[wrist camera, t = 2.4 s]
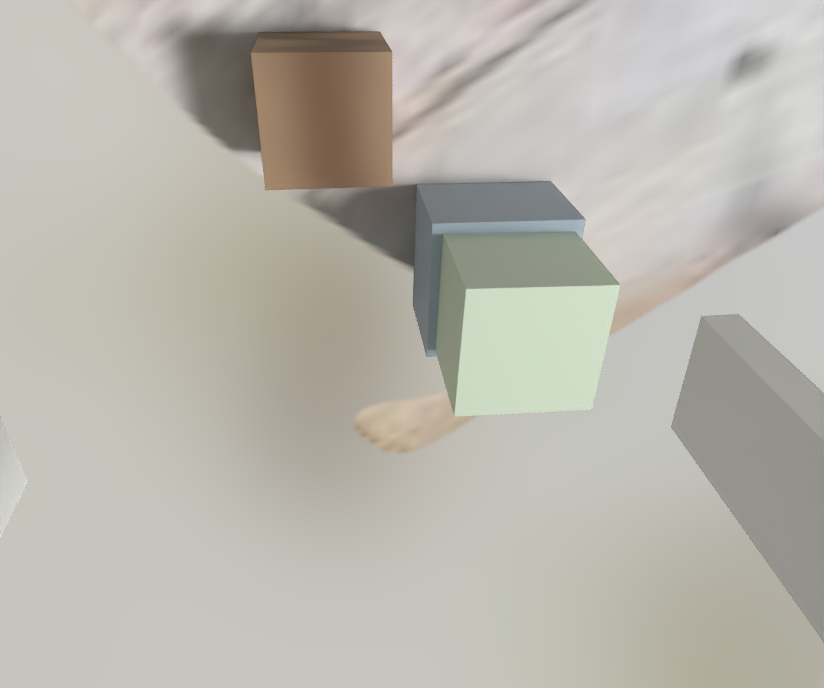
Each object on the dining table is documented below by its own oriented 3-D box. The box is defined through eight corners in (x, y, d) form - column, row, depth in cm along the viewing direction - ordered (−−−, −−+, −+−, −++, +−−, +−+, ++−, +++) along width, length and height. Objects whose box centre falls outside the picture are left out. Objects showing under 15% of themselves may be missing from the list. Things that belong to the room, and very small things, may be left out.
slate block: (412, 305, 43) (426, 356, 38) (416, 183, 38) (432, 223, 33) (534, 299, 44) (563, 349, 39) (550, 180, 39) (585, 219, 34)
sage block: (435, 349, 38) (454, 416, 33) (443, 233, 34) (466, 289, 29) (555, 345, 39) (591, 409, 33) (575, 231, 35) (620, 285, 30)
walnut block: (271, 152, 36) (265, 190, 31) (259, 31, 33) (250, 52, 28) (381, 149, 37) (392, 186, 32) (379, 31, 34) (392, 51, 29)
